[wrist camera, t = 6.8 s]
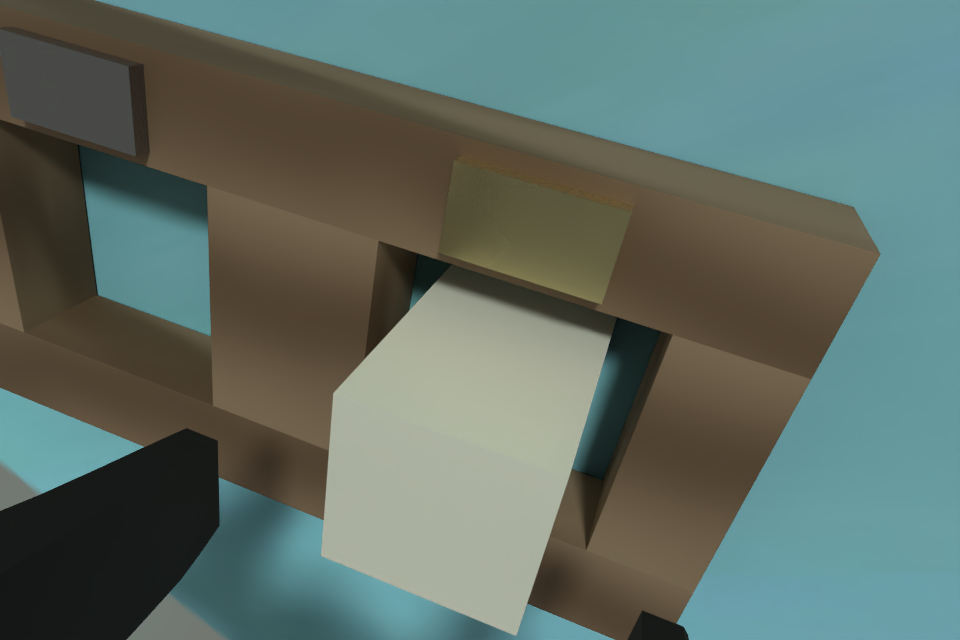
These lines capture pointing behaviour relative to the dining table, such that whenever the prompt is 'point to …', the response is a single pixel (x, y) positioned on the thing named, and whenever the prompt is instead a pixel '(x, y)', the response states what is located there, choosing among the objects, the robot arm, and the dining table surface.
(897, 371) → the dining table surface
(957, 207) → the dining table surface
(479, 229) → the brass tag
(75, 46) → the grey tag
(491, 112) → the socket board
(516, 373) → the plug
